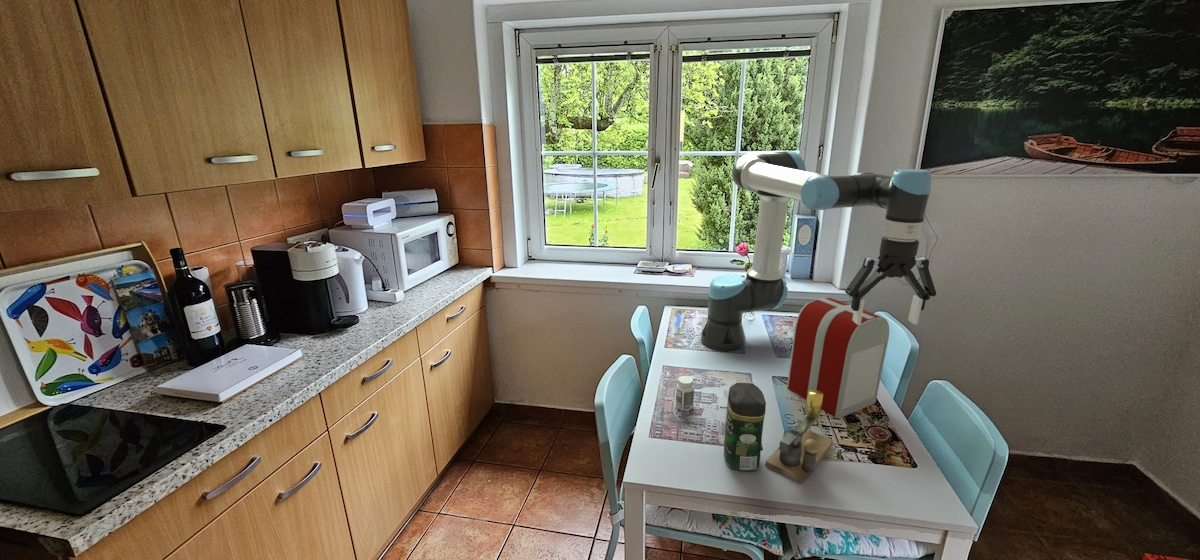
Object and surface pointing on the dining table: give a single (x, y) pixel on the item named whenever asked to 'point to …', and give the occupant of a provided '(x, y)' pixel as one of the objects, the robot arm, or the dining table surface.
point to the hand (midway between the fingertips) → (884, 322)
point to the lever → (803, 422)
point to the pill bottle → (685, 393)
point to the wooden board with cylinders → (801, 457)
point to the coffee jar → (744, 426)
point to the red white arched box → (837, 356)
